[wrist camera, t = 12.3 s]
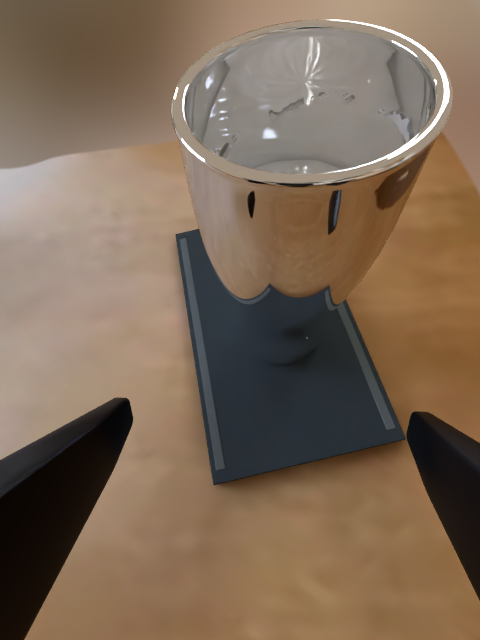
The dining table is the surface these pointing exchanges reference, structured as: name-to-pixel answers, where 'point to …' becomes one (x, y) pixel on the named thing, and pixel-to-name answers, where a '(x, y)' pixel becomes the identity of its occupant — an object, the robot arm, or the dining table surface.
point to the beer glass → (304, 165)
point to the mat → (278, 385)
